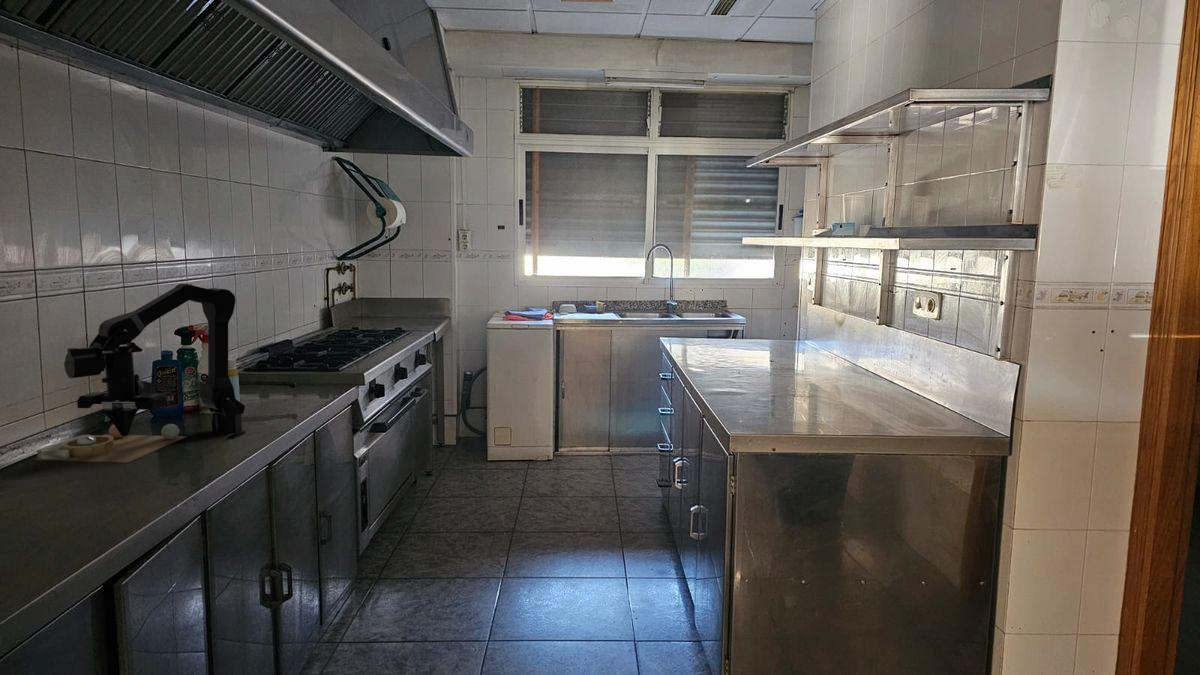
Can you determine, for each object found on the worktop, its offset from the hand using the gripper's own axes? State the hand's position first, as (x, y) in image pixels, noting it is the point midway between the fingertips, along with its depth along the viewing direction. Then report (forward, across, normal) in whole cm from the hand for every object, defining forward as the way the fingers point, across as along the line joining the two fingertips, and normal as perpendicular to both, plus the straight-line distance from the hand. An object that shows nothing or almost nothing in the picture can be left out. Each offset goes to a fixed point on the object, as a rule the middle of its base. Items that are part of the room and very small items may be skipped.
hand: (125, 435), depth 176 cm
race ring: (+4, +10, 0) cm, 10 cm away
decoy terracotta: (+2, +11, -12) cm, 16 cm away
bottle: (+6, +7, -55) cm, 56 cm away
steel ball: (+2, +10, 0) cm, 10 cm away
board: (+5, +6, -4) cm, 9 cm away
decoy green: (+2, -3, -12) cm, 13 cm away
